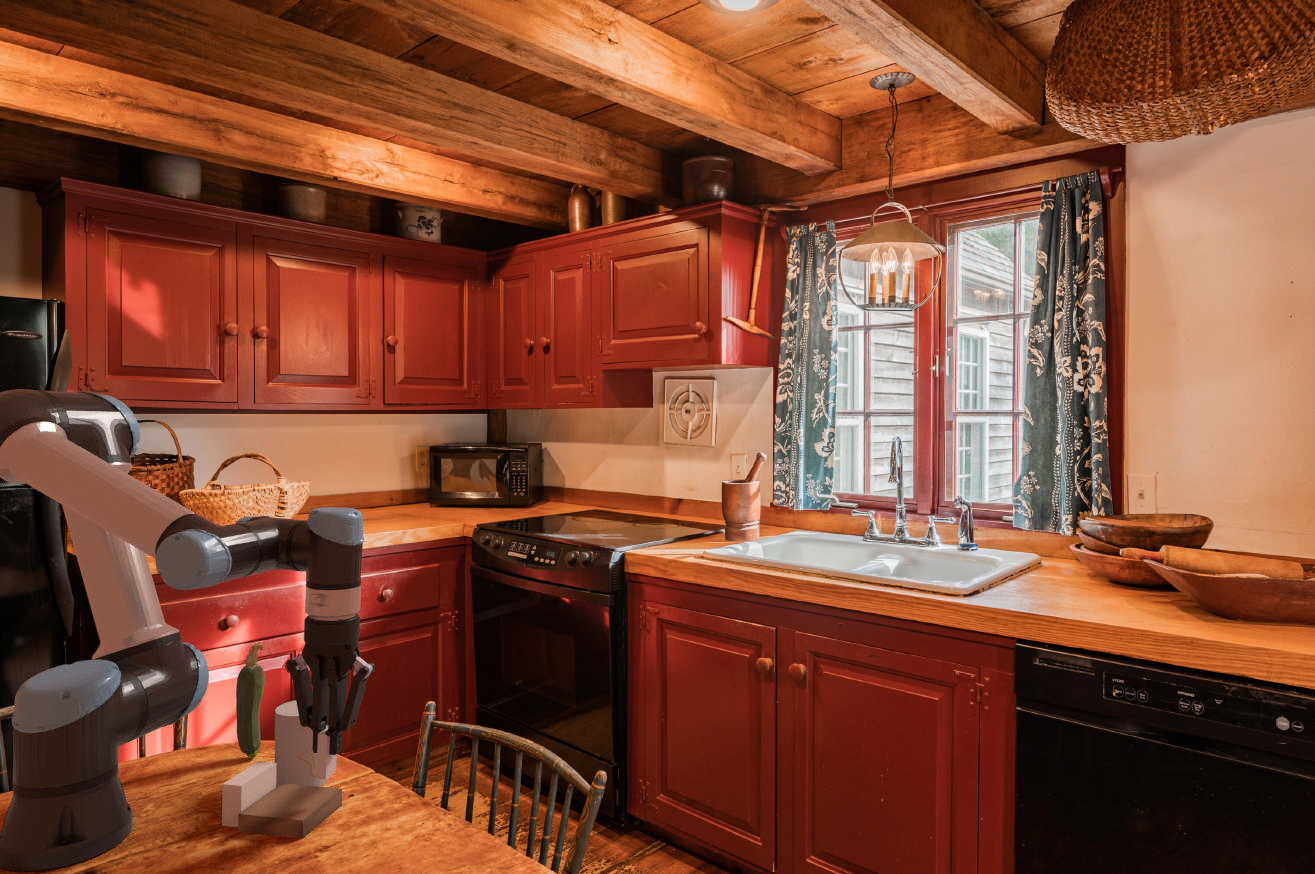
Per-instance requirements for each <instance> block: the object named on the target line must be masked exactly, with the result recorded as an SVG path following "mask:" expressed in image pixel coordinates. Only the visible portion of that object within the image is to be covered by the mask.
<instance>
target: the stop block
mask: <svg viewBox="0 0 1315 874" xmlns="http://www.w3.org/2000/svg"><path fill="white" fill-rule="evenodd" d="M275 788H276V763H275V762H270V761H269V762H268V761H257V762H255V763H253V764H252V765H251V766H249V767H248V768H246V769H244V770H243V771H241V772H240V773H238V774H237V775H234V776H233V777H231V778H229V779H228V780H227V781H225V782H223V783H222V794H221V795H222V799H221V800H222V801H221V802H222V803H221V804H222V809H221V814H222V815H221V826H223V827H232V828H238V814H239V813H240V812H242V811H243V810H245V809H246V808H248V807H249V806H250V805H252V804H253V803H255V802H256V801H257V800H259V799H260V798H262V797H263V796H265V795H266V794H267V793H269V792H270V791H272V790H273V789H275Z"/></svg>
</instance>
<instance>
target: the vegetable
mask: <svg viewBox="0 0 1315 874" xmlns="http://www.w3.org/2000/svg"><path fill="white" fill-rule="evenodd" d="M263 649H264V646H263V644H262V643H261V642H260V641H258V642H257V643H254V644H253V645H252V646H251V647H250V649H249V652H248V653H247V656H246V657H245V659H244V663H245V666H243V667H242V668H241V669H240V671H239V673H238V675H237V678H236V689H235V697H236V704H235V709H236V710H235V711H236V714H235V715H236V739H237V742H238V745H239V746H238V747H239V749H240V751H241V752H242V754H245V755H246V756H247V758H248V759H250V760H252V761H253V759H254V758H255V757H257V754H259V753H260V747H261V743H262V740H261V739H262V738H261V724H260V723H261V722H260V707H261V702H262V700H263V696H264V695H263V694H264V690H265V689H264V688H265V685H266V684H265V681H266V675H265V671H264V668H263V667H262V666H261V665H260V664H259V663H258V662H259V660H258V658H259V657H258V656H259V654H258V652H259V651H263ZM258 650H259V651H258Z"/></svg>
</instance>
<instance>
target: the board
mask: <svg viewBox="0 0 1315 874" xmlns="http://www.w3.org/2000/svg"><path fill="white" fill-rule="evenodd" d="M342 805H343V789H342V788H337V787H328V786H327V787H325V786H319V787H317V786H306V785H295V784H285V783H282V784H280V785H279V786H277V787H276V788H275V789H273V790H272V791H270V792H269V793H267V794H266V795H265V796H263V797H262V798H260V799H259V800H257V801H256V802H255V803H253V804H252V805H250V806H249V807H248V808H246V809H245V810H243V811H242V812H240V813H239V814H238V827H237V829H238V830H237V832H238V833H243V834H244V833H245V834H252V835H253V834H255V835H265V836H273V837H274V836H275V837H281V838H282V837H283V838H293V839H301V840H302V839H304V838H306V837H307V836H308V835H310V834H311V833H312V832H313V831H314V830H316V828H317V827H319V826H320V825H321V824H322V823H324V822H325V821H326V819H328V818H329V817H331V815H333V814H334V813H335V812H336V811H338V810H339V809H340V808H341V807H342Z"/></svg>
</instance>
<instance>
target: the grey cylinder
mask: <svg viewBox="0 0 1315 874" xmlns="http://www.w3.org/2000/svg"><path fill="white" fill-rule="evenodd" d="M274 711H275V712H274V715H275V716H274V763H276V787H277V786H279V785H280V784H282V783H285V784H295V785H306V786H317V787H322V786H323V785H324V784H326V783H327V782H328V781H329V779H330V777H328V778H327V779H317V778H316V771H317V753H313V749H312V747H313V731H312V729H311V728H309V727H307V726H305V727H303V726H301V724H300V719H299V714H298V708H297V702H296V699H295V700H291V701H286V702H285V703H282V704H279V706H277V707H276V708H275V710H274ZM326 728H328V725H327V726H326Z"/></svg>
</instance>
